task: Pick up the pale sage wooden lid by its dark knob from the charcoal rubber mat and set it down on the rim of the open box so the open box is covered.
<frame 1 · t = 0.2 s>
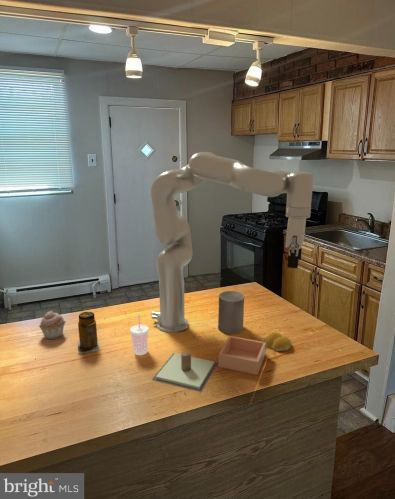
hand: (294, 263, 123), 31 cm above the counter, fingers open, 9 cm apart
pillar candle: (230, 328, 145), on the counter
mat: (186, 372, 117), on the counter
open box: (242, 361, 123), on the counter
cupcake: (53, 335, 139), on the counter
beverage cup: (140, 353, 128), on the counter
condiment: (88, 347, 132), on the counter
bread roll: (277, 345, 133), on the counter
lid: (186, 370, 117), resting on mat
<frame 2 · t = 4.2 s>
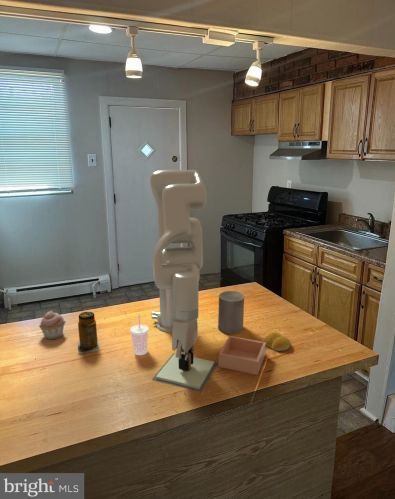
hand: (186, 365, 116), 2 cm above the counter, fingers closed on lid, 3 cm apart
lid: (186, 370, 117), resting on mat, touching gripper
everything else where it was.
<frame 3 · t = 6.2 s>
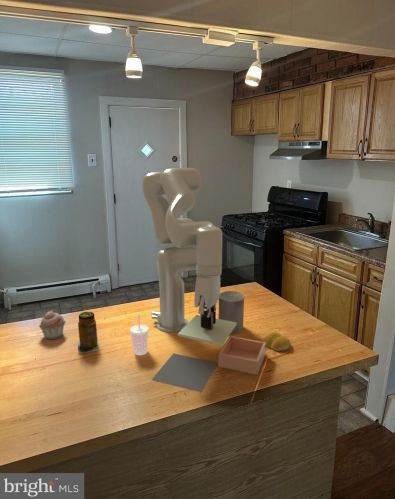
hand: (208, 324, 115), 15 cm above the counter, fingers closed on lid, 3 cm apart
lid: (208, 330, 115), point 13 cm above the counter, touching gripper
everything else where it was.
when the fingers open (8 cm above the counter, at t = 8.4 s): lid stays where it is, resting on open box.
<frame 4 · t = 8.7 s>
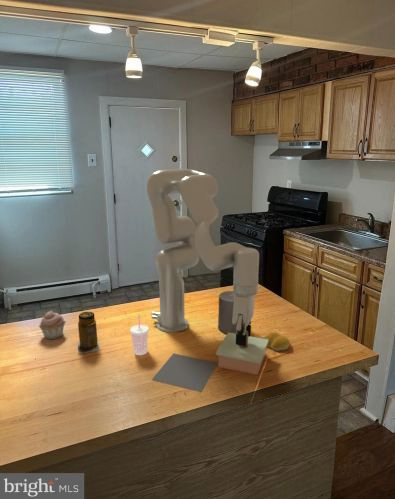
hand: (243, 339, 120), 8 cm above the counter, fingers open, 5 cm apart
lid: (242, 348, 121), point 5 cm above the counter, touching open box
everything else where it was.
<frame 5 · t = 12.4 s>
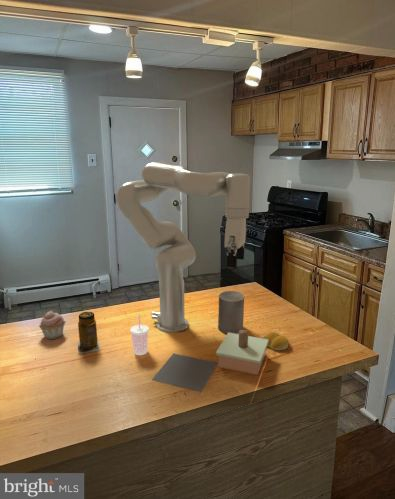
hand: (235, 262, 125), 30 cm above the counter, fingers open, 9 cm apart
nothing on the counter moved.
at the end: lid 0.0 cm off-centre on the open box, point 5.0 cm above the open box's base; lid tilted 0°; the gripper is holding nothing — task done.
